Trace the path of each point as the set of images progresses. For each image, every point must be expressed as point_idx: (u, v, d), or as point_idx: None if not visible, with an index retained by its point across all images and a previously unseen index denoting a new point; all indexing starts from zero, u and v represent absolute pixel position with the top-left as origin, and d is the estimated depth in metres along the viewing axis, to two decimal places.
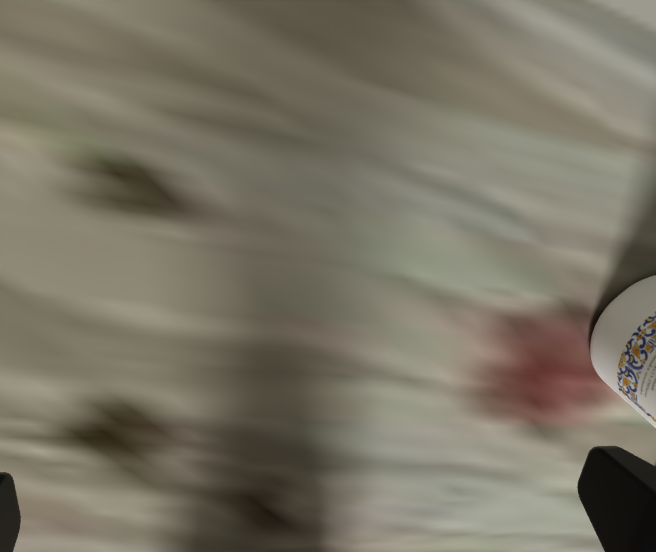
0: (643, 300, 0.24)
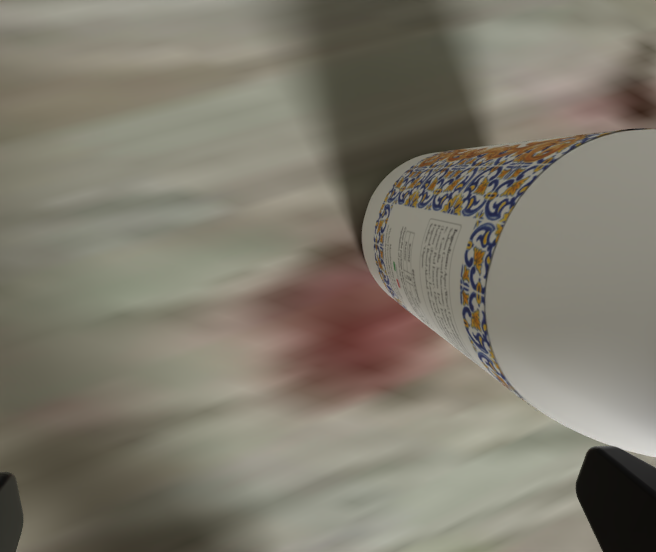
0: (374, 207, 0.20)
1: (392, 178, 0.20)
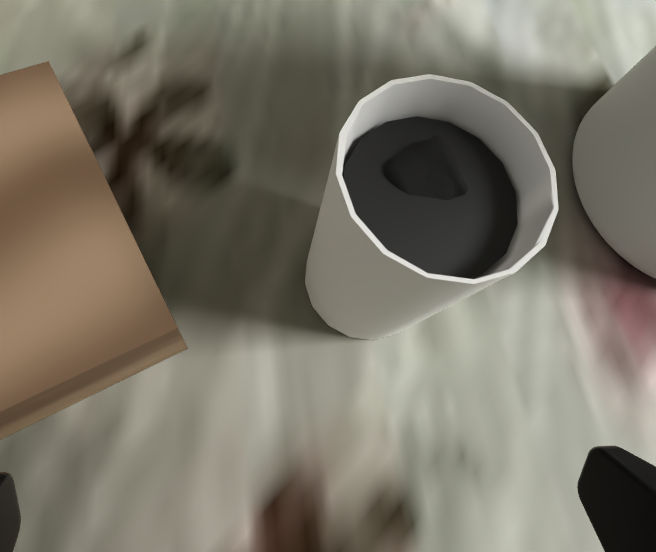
0: None
1: None
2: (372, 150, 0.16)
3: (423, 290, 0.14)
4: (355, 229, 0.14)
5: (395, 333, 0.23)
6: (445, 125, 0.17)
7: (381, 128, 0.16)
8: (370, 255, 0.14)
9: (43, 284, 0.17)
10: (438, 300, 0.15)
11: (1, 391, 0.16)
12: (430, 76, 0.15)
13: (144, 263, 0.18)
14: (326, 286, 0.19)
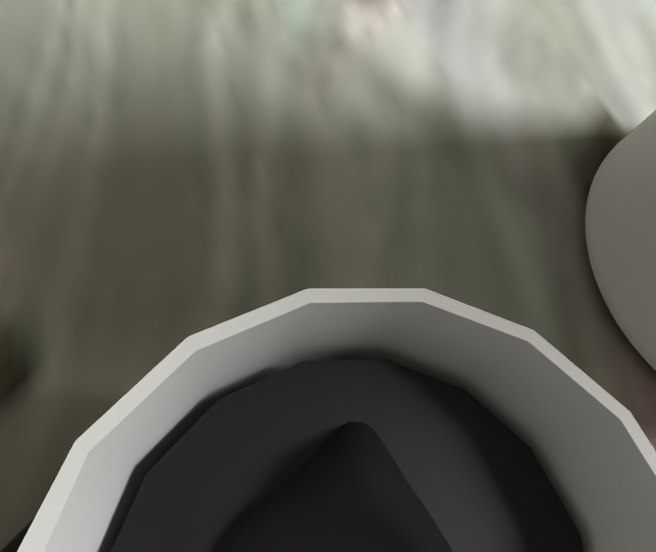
0: None
1: None
2: (182, 504, 0.06)
3: None
4: None
5: None
6: (377, 372, 0.07)
7: (207, 422, 0.06)
8: None
9: None
10: None
11: None
12: (311, 291, 0.05)
13: None
14: None
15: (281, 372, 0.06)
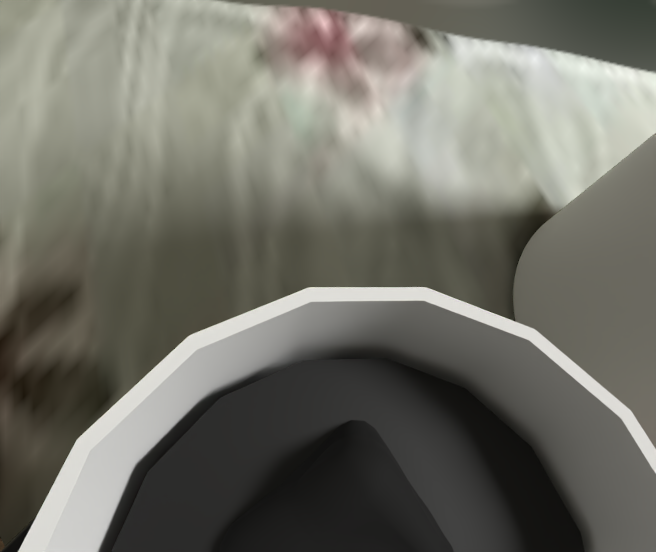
0: None
1: None
2: (183, 503, 0.06)
3: None
4: None
5: None
6: (377, 371, 0.07)
7: (208, 421, 0.06)
8: None
9: None
10: None
11: None
12: (312, 290, 0.05)
13: None
14: None
15: (282, 371, 0.06)
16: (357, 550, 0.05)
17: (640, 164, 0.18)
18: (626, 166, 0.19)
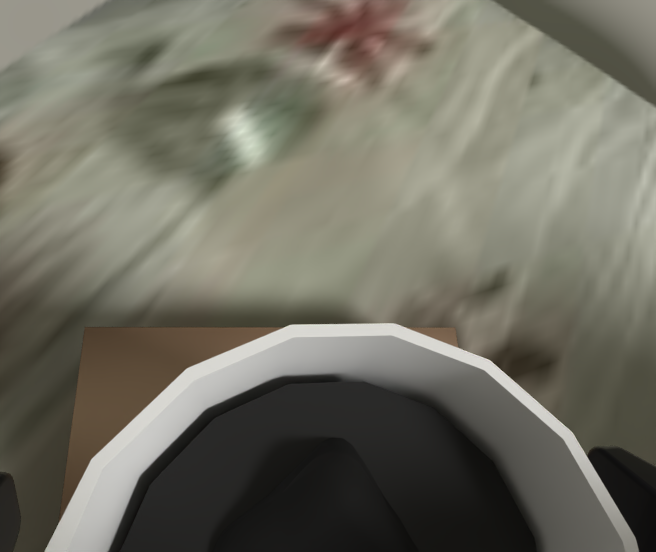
0: None
1: None
2: (182, 511, 0.06)
3: None
4: None
5: None
6: (356, 393, 0.07)
7: (204, 438, 0.07)
8: None
9: None
10: None
11: None
12: (294, 325, 0.06)
13: None
14: None
15: (270, 393, 0.07)
16: None
17: None
18: None
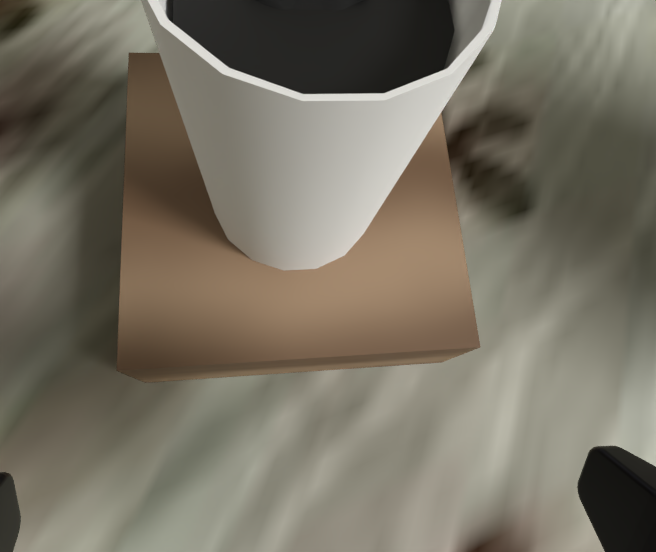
0: None
1: None
2: None
3: (316, 140, 0.09)
4: (178, 50, 0.08)
5: (341, 255, 0.18)
6: None
7: None
8: (216, 93, 0.09)
9: (376, 257, 0.18)
10: (351, 161, 0.10)
11: (318, 340, 0.17)
12: None
13: (466, 273, 0.18)
14: (219, 197, 0.14)
15: None
16: None
17: None
18: None
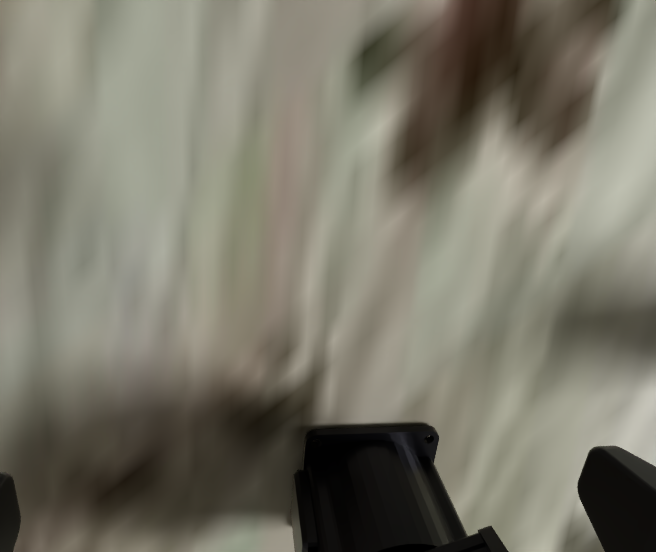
0: None
1: None
2: None
3: None
4: None
5: None
6: None
7: None
8: None
9: None
10: None
11: None
12: None
13: None
14: None
15: None
16: None
17: None
18: None
